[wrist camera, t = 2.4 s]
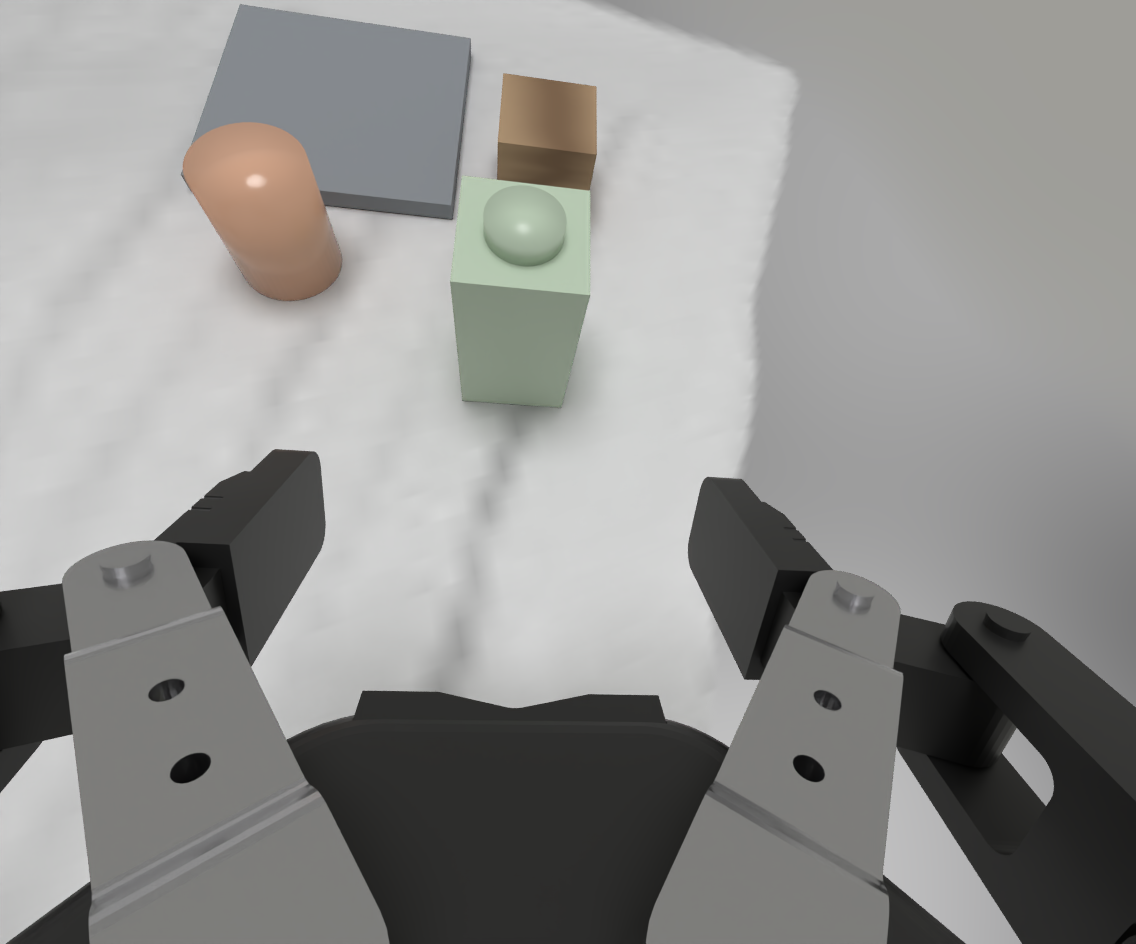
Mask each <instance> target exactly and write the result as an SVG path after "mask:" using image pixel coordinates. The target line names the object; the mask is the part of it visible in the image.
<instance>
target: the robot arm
mask: <svg viewBox="0 0 1136 944" xmlns="http://www.w3.org/2000/svg"><path fill="white" fill-rule="evenodd" d="M324 536H325V511H324V500H323V488H322V476H321V466H320V460H319V457H318V455H317V453H316V452H312V451H296V450H280V449H275V450H273V451H272V452H271V453H270V454H268V455H267V456H266V457H265V458H264V459H263V460H262V461H261V462H260V463H259V464H258V465H257V466H256V467H255V468H254V469H253V470H252V471H251V472H248V471H244V472H241V473H239V474H237V475H235V476H232V477H230V478H228V479H226V480H223V481H221V482H219V483H218V484H217V485H216V486H215V487H214V488H213V489H211V490H210V491H209V492H208V493H207V494H206V495H205V496H204V499H200V500H199V501H198V502H197V503H196V504H194V505H193V506H192V509H191V510H188V511H187V512H185V513H184V514H183V515H182V516H181V517H180V518H179V519H178V520H176V521H175V522H174V523H173V524H172V525H171V526H170V527H169V528H167V529H166V530H165V531H164V532H163V533H162V534H161V535H159V536H158V537H157V538H156V539H155V540H154V541H138V542H130V543H125V544H120V545H116V546H113V547H109V548H106V549H103V550H100V551H98V552H95V553H93V554H91V555H89V556H87V557H85V558H83V559H81V560H80V561H78V562H77V563H75V564H74V565H73V566H72V567H70V568H69V569H68V570H67V572H66V573H65V575H64V577H63V580H62V584H56V585H48V586H40V587H33V588H25V589H18V590H10V591H2V592H0V793H1V791H2V790H3V789H4V788H5V787H6V785H7V784H8V783H9V782H10V781H11V779H12V778H13V777H14V776H15V775H16V773H17V772H18V771H19V770H20V768H21V767H22V766H23V765H24V764H25V762H26V761H27V760H28V759H29V758H30V756H31V755H32V754H33V753H34V752H35V750H36V749H37V748H38V747H39V745H40V744H41V743H42V741H44V740H49V739H53V738H58V737H62V736H67V735H71V734H73V740H74V748H75V756H76V764H77V773H78V781H79V789H80V798H81V806H82V814H83V822H84V831H85V839H86V847H87V856H88V864H89V872H90V880H91V881H90V882H89V883H87V884H86V885H85V886H83V887H82V888H81V889H79V890H78V891H77V892H75V893H74V894H72V895H71V896H70V897H68V898H67V899H66V900H64V901H63V902H62V903H60V904H59V905H58V906H56V907H55V908H53V909H52V910H51V911H49V912H48V913H47V914H45V915H44V916H43V917H41V918H40V919H39V920H37V921H36V922H34V923H33V924H32V925H30V926H29V927H28V928H26V929H25V930H24V931H22V932H21V933H20V934H18V935H17V936H16V937H14V938H13V939H11V940H10V941H9V942H7V943H6V944H965V943H964V942H963V941H962V940H960V939H959V938H958V937H957V936H956V935H955V934H953V933H952V932H951V931H950V930H949V929H947V928H946V927H945V926H944V925H943V924H942V923H940V922H939V921H938V920H937V919H936V918H934V917H933V916H932V915H931V914H929V913H928V912H927V911H926V910H925V909H924V908H922V907H921V906H920V905H919V904H917V903H916V902H915V901H914V900H913V899H911V898H910V897H909V896H908V895H907V894H906V893H904V892H903V891H902V890H901V889H899V888H898V887H897V886H896V885H895V884H893V883H892V882H891V881H890V880H889V879H888V878H886V877H885V876H884V875H883V865H884V856H885V846H886V837H887V828H888V819H889V809H890V799H891V790H892V781H893V771H894V762H895V752H896V747H897V749H898V751H899V753H900V754H901V756H902V757H903V759H904V760H905V762H906V763H907V765H908V767H909V768H910V770H911V771H912V773H913V774H914V776H915V777H916V779H917V780H918V782H919V784H920V785H921V787H922V788H923V790H924V792H925V793H926V795H927V796H928V798H929V799H930V801H931V802H932V804H933V806H934V807H935V809H936V810H937V811H938V813H939V815H940V816H941V818H942V819H943V821H944V823H945V824H946V826H947V827H948V829H949V830H950V832H951V834H952V835H953V836H954V838H955V840H956V841H957V843H958V844H959V846H960V847H961V849H962V850H963V852H964V854H965V855H966V857H967V858H968V860H969V862H970V863H971V865H972V866H973V868H974V869H975V871H976V872H977V874H978V876H979V877H980V878H981V880H982V882H983V883H984V885H985V887H986V888H987V890H988V891H989V893H990V894H991V896H992V897H993V899H994V900H995V902H996V903H997V905H998V907H999V908H1000V910H1001V911H1002V913H1003V914H1004V916H1005V918H1006V919H1007V921H1008V922H1009V924H1010V925H1011V927H1012V929H1013V930H1014V931H1015V933H1016V935H1017V936H1018V938H1019V939H1020V941H1021V942H1022V944H1136V707H1134V706H1133V705H1132V704H1131V703H1130V702H1128V701H1127V700H1126V699H1125V698H1124V697H1122V696H1121V695H1120V694H1119V693H1118V692H1117V691H1115V690H1114V689H1113V688H1112V687H1111V686H1109V685H1108V684H1107V683H1106V682H1105V681H1103V680H1102V679H1101V678H1100V677H1099V676H1098V675H1096V674H1095V673H1094V672H1093V671H1092V670H1091V669H1089V668H1088V667H1087V666H1086V665H1085V664H1083V663H1082V662H1081V661H1080V660H1079V659H1077V658H1076V657H1075V656H1074V655H1073V654H1071V653H1070V652H1069V651H1068V650H1067V649H1065V648H1064V647H1063V646H1062V645H1061V644H1060V643H1058V642H1057V641H1056V640H1055V639H1054V638H1053V637H1051V636H1050V635H1049V634H1048V633H1047V632H1045V631H1044V630H1043V629H1041V628H1040V627H1039V626H1037V625H1035V624H1034V623H1032V622H1031V621H1029V620H1027V619H1025V618H1024V617H1021V616H1019V615H1017V614H1016V613H1013V612H1010V611H1008V610H1006V609H1003V608H1000V607H997V606H994V605H990V604H986V603H981V602H968V601H967V602H961V603H958V604H956V605H955V606H954V608H953V610H952V612H951V614H950V616H949V618H948V620H947V623H946V625H944V624H939V623H936V622H931V621H927V620H923V619H918V618H914V617H910V616H906V615H902V614H900V613H901V611H900V606H899V604H898V602H897V601H896V599H895V598H894V597H893V596H892V595H891V594H890V593H889V592H887V591H886V590H885V589H883V588H881V587H880V586H879V585H877V584H875V583H874V582H872V581H869V580H867V579H865V578H863V577H860V576H857V575H854V574H851V573H846V572H842V571H835V570H833V569H832V568H831V567H830V566H829V565H828V564H827V563H826V562H825V560H824V559H823V558H822V557H821V556H820V555H819V553H818V552H817V551H816V550H815V549H814V548H813V547H812V546H811V544H810V543H809V542H806V539H805V538H804V536H802V534H801V533H800V532H799V531H797V530H796V528H795V526H794V525H793V524H792V523H791V522H790V521H789V520H788V518H787V517H786V516H785V515H784V514H783V513H781V512H779V511H778V510H776V509H775V508H773V507H771V506H770V505H768V504H767V503H765V502H761V501H760V500H759V498H758V497H757V496H756V495H755V494H754V492H753V491H752V490H751V489H750V488H749V486H748V485H747V484H746V483H745V482H744V481H743V480H742V479H733V478H717V477H707V478H705V479H704V481H703V483H702V485H701V488H700V493H699V497H698V502H697V506H696V511H695V515H694V520H693V524H692V529H691V533H690V537H689V543H688V559H689V564H690V568H691V570H692V572H693V574H694V576H695V578H696V580H697V582H698V585H699V587H700V589H701V591H702V593H703V595H704V597H705V599H706V601H707V603H708V605H709V607H710V609H711V611H712V613H713V616H714V618H715V620H716V622H717V624H718V626H719V628H720V630H721V632H722V634H723V636H724V638H725V640H726V642H727V644H728V646H729V649H730V651H731V653H732V655H733V657H734V659H735V661H736V663H737V665H738V667H739V669H740V671H741V673H742V676H743V677H744V679H747V680H760V681H759V683H758V686H757V688H756V690H755V692H754V694H753V697H752V699H751V701H750V703H749V706H748V708H747V710H746V712H745V714H744V717H743V719H742V721H741V723H740V726H739V728H738V730H737V732H736V734H735V737H734V739H733V741H732V743H731V746H730V748H729V747H728V746H726V745H725V744H723V743H722V742H720V741H718V740H716V739H715V738H713V737H711V736H709V735H707V734H706V733H703V732H701V731H699V730H697V729H694V728H692V727H690V726H687V725H684V724H681V723H678V722H675V721H671V720H667V719H665V717H664V714H663V710H662V707H661V703H660V700H659V696H658V695H597V694H588V695H583V696H578V697H573V698H568V699H563V700H558V701H553V702H549V703H544V704H539V705H534V706H529V707H524V708H507V707H502V706H498V705H494V704H489V703H485V702H480V701H476V700H472V699H467V698H463V697H458V696H454V695H450V694H445V693H441V692H409V691H362V694H361V697H360V700H359V703H358V706H357V709H356V712H355V715H354V716H349V717H344V718H340V719H337V720H333V721H330V722H327V723H323V724H321V725H318V726H316V727H313V728H311V729H308V730H306V731H303V732H301V733H299V734H297V735H295V736H293V737H291V738H289V739H287V740H286V738H285V736H284V734H283V732H282V730H281V728H280V726H279V724H278V722H277V720H276V718H275V716H274V714H273V711H272V709H271V707H270V705H269V703H268V701H267V699H266V697H265V695H264V693H263V691H262V689H261V687H260V685H259V683H258V681H257V679H256V677H255V674H254V672H253V670H252V668H251V666H252V665H253V663H254V661H255V660H256V658H257V656H258V655H259V653H260V651H261V650H262V648H263V646H264V645H265V643H266V641H267V640H268V638H269V636H270V635H271V633H272V631H273V630H274V628H275V626H276V624H277V623H278V621H279V619H280V618H281V616H282V614H283V613H284V611H285V609H286V608H287V606H288V604H289V603H290V601H291V599H292V598H293V596H294V594H295V593H296V591H297V589H298V588H299V586H300V584H301V583H302V581H303V579H304V578H305V576H306V574H307V573H308V571H309V569H310V568H311V566H312V564H313V562H314V561H315V559H316V557H317V556H318V554H319V552H320V550H321V548H322V545H323V541H324ZM1016 728H1018V729H1019V731H1020V732H1021V733H1022V734H1023V735H1024V736H1025V737H1026V738H1027V739H1028V741H1029V742H1030V743H1031V744H1032V745H1033V746H1034V747H1035V748H1036V749H1037V750H1038V752H1040V754H1041V755H1042V756H1043V758H1044V759H1045V760H1046V762H1047V764H1048V766H1049V768H1050V770H1051V773H1052V776H1053V780H1054V792H1053V796H1052V798H1051V800H1050V802H1049V803H1048V804H1047V806H1045V805H1044V803H1043V802H1042V801H1041V800H1040V799H1039V797H1038V796H1037V795H1036V794H1035V793H1034V791H1033V790H1032V789H1031V788H1030V787H1029V786H1028V784H1027V783H1026V782H1025V781H1024V779H1023V778H1022V777H1021V776H1020V775H1019V774H1018V772H1017V771H1016V770H1015V769H1014V767H1013V766H1012V765H1011V764H1010V763H1009V761H1008V760H1007V759H1006V758H1005V757H1004V755H1003V754H1002V751H1003V750H1004V748H1005V746H1006V745H1007V743H1008V741H1009V740H1010V738H1011V736H1012V735H1013V733H1014V731H1015V730H1016Z"/></svg>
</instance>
